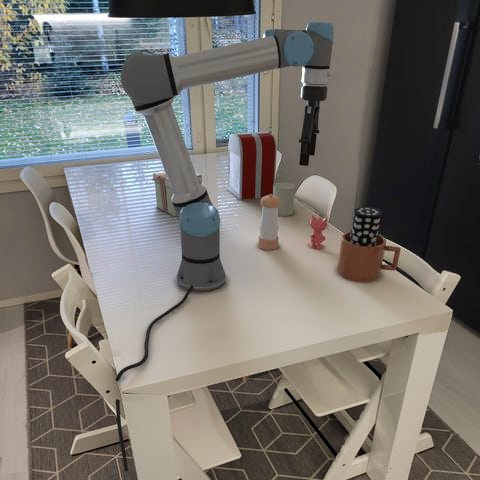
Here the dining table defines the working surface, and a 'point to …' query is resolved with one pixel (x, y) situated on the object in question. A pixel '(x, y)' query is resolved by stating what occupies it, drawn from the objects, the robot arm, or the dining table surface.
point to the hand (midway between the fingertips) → (307, 160)
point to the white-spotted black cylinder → (365, 226)
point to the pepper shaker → (269, 223)
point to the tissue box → (251, 164)
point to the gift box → (166, 192)
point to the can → (284, 197)
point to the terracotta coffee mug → (364, 259)
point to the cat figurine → (317, 231)
